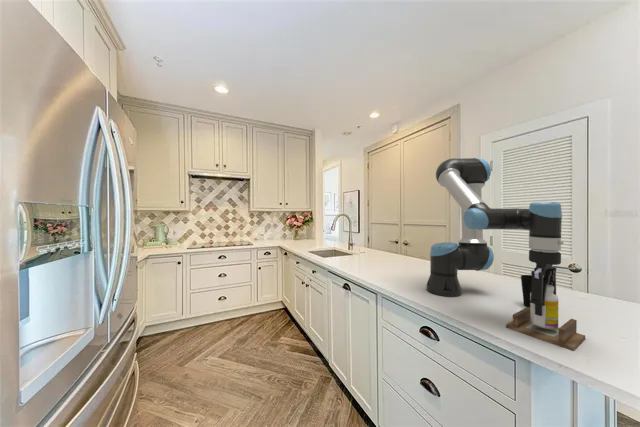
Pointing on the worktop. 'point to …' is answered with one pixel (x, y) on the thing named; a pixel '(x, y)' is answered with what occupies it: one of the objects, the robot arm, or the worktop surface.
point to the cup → (526, 288)
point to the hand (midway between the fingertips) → (543, 322)
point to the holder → (547, 330)
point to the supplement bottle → (548, 309)
